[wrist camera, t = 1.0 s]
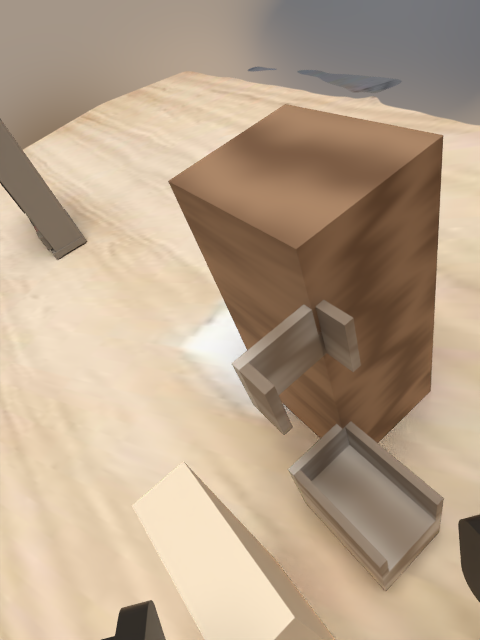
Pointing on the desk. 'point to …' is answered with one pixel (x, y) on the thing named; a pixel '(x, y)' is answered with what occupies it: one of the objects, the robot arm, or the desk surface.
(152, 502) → the beige rectangular block
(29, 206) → the cassette tape recorder
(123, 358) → the desk surface
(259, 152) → the cabinet
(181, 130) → the desk surface
